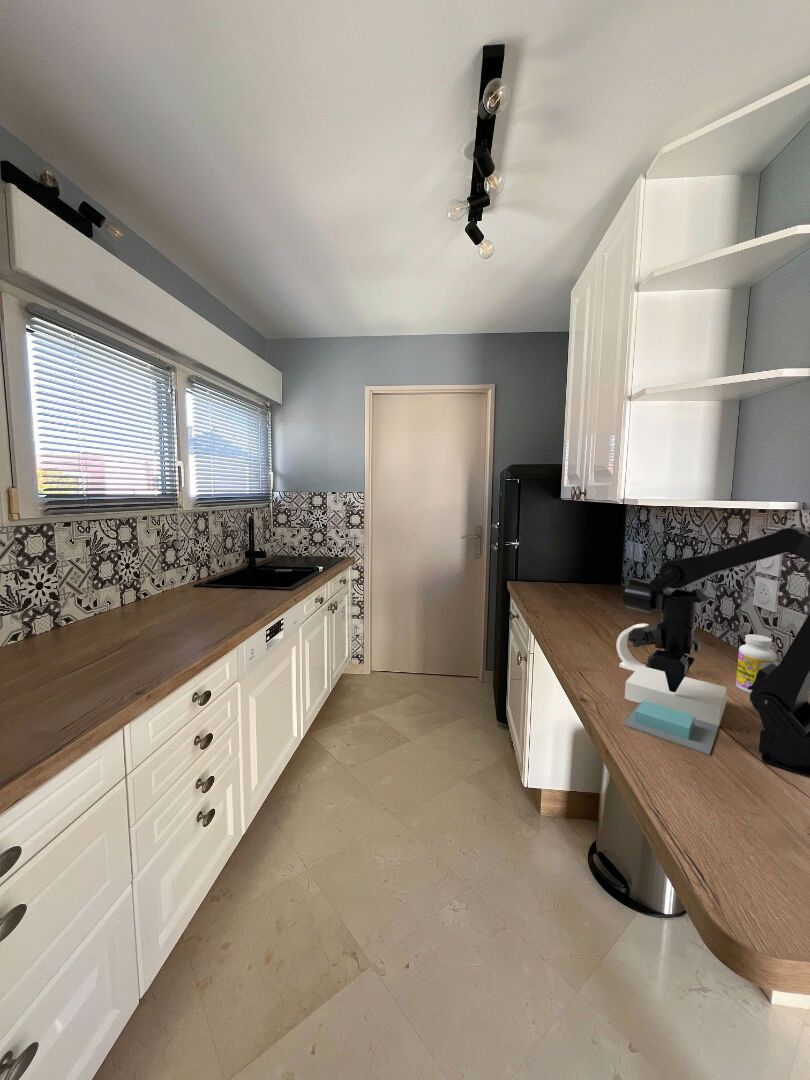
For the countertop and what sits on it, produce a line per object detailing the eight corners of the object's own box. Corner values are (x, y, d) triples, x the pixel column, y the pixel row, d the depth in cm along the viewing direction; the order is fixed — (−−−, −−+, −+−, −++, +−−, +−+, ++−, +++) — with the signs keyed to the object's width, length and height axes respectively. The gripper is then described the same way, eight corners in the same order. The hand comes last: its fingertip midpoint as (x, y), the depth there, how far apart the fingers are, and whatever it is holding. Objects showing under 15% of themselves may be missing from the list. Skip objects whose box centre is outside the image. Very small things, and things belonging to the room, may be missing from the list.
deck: (725, 704, 90) (727, 687, 89) (718, 727, 81) (720, 708, 81) (639, 681, 101) (640, 665, 101) (624, 698, 93) (625, 681, 92)
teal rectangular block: (689, 728, 76) (688, 739, 76) (694, 715, 81) (694, 726, 81) (635, 711, 82) (635, 721, 83) (643, 700, 87) (642, 710, 87)
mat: (718, 727, 81) (718, 726, 81) (709, 755, 72) (709, 753, 72) (639, 703, 91) (639, 701, 90) (623, 725, 82) (623, 724, 82)
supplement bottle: (728, 683, 100) (732, 632, 98) (756, 683, 100) (761, 632, 98) (750, 696, 93) (755, 642, 92) (780, 697, 93) (786, 642, 91)
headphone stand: (639, 672, 106) (641, 627, 105) (615, 665, 111) (617, 622, 109) (646, 667, 109) (648, 624, 108) (622, 661, 114) (624, 619, 112)
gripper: (645, 603, 97) (641, 666, 98) (621, 621, 83) (617, 694, 85) (703, 612, 89) (697, 680, 91) (686, 633, 75) (681, 713, 77)
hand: (672, 691), depth 86 cm, fingers closed
